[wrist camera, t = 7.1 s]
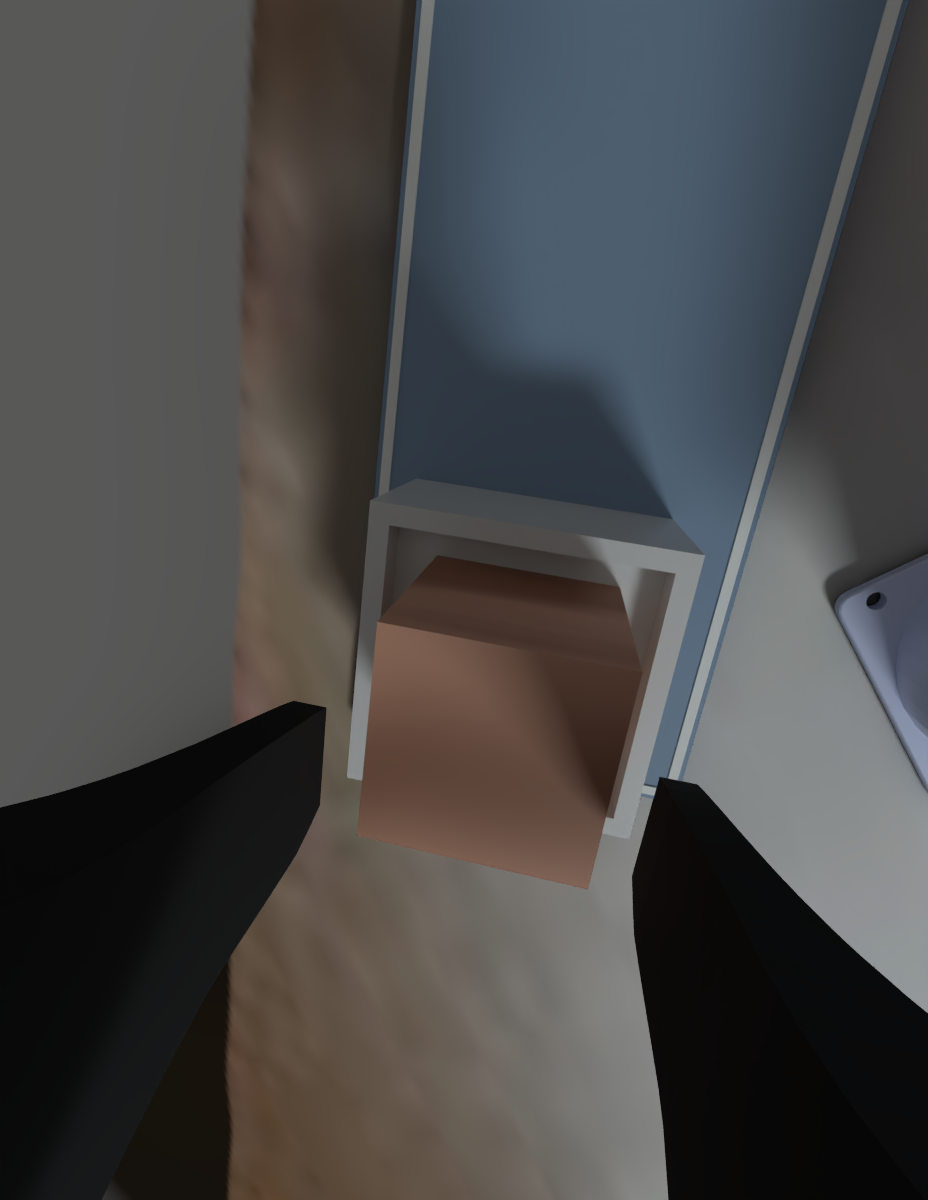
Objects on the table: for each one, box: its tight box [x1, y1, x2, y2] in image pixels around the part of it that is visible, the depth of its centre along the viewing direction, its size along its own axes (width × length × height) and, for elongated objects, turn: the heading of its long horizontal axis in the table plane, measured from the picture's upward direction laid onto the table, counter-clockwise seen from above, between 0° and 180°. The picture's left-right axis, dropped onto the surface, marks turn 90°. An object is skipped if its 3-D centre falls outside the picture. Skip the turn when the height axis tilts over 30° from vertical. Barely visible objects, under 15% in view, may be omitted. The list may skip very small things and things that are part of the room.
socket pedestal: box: [347, 479, 705, 839], centre depth 17 cm, size 8×8×4 cm
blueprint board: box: [374, 0, 909, 799], centre depth 18 cm, size 22×11×1 cm, turn 173°
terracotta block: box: [357, 555, 642, 889], centre depth 13 cm, size 4×4×5 cm
